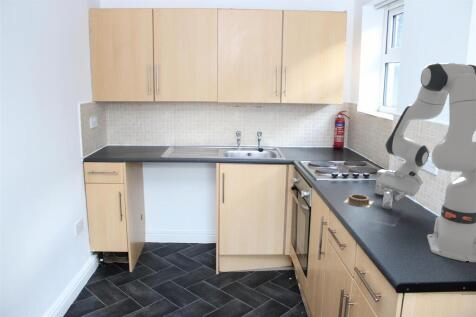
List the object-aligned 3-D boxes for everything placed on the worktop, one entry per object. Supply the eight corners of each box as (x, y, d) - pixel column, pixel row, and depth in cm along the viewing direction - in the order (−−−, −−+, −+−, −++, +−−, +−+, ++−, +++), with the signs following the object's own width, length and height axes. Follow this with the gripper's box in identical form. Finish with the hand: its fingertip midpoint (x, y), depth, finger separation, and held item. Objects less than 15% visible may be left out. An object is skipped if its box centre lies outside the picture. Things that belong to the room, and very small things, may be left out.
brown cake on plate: (368, 209, 177) (369, 202, 176) (342, 204, 183) (343, 197, 182) (373, 203, 187) (374, 196, 186) (349, 198, 193) (350, 191, 192)
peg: (390, 210, 175) (392, 194, 174) (381, 208, 177) (383, 192, 176) (391, 208, 179) (394, 192, 177) (383, 206, 181) (385, 190, 179)
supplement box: (378, 191, 207) (381, 168, 205) (392, 194, 203) (395, 171, 200) (374, 194, 202) (376, 171, 199) (388, 197, 197) (391, 173, 194)
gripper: (384, 165, 187) (367, 186, 184) (420, 175, 169) (403, 198, 167) (389, 173, 190) (373, 194, 187) (426, 184, 172) (408, 207, 170)
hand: (387, 196), depth 177 cm, fingers open, 8 cm apart
